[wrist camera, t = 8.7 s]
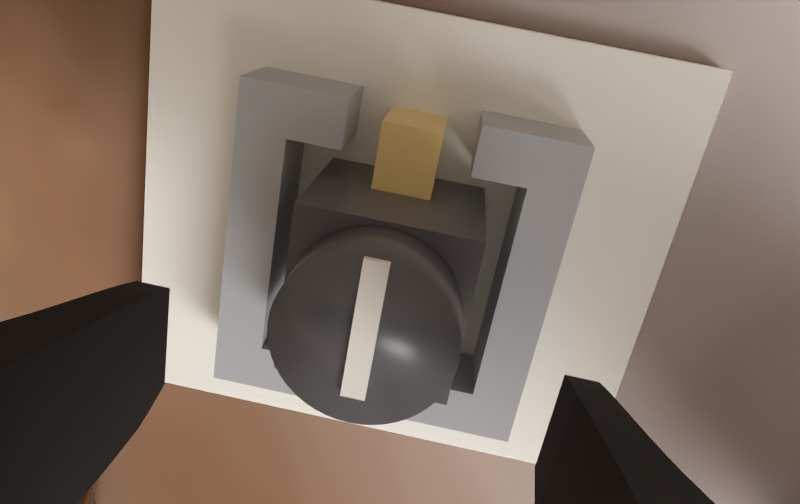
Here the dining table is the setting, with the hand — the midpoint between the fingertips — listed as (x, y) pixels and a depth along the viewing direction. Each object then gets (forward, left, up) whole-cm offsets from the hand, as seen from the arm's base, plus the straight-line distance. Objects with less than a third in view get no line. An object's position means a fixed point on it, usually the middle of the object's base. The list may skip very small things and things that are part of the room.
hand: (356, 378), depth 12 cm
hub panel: (0, 0, -7) cm, 7 cm away
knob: (0, 0, -7) cm, 7 cm away
